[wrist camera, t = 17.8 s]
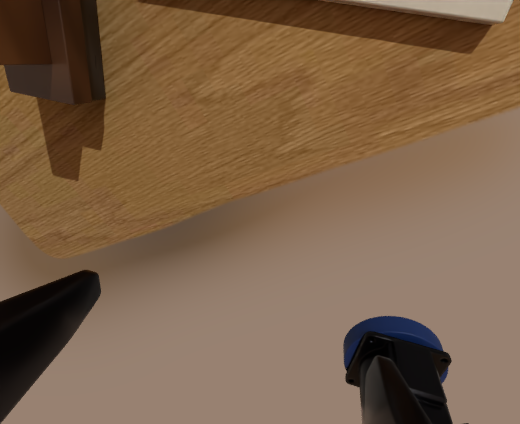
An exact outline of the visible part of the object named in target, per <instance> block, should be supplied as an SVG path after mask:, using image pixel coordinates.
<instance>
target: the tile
mask: <svg viewBox="0 0 520 424" xmlns="http://www.w3.org/2000/svg"><path fill="white" fill-rule="evenodd" d="M320 1H327V2H334V3H341V4H348V5H355V6H362V7H369V8H376V9H383V10H390V11H397V12H404V13H411V14H418V15H425V16H432V17H439V18H446V19H452V20H459V21H466V22H473V23H480V24H487V25H495V24H499V23H503V21H504V20H505V17H506V15H507V13H508V11H509V9H510V7H511V4H512V2H513V0H320Z"/></svg>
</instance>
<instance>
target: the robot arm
mask: <svg viewBox="0 0 520 424" xmlns="http://www.w3.org/2000/svg"><path fill="white" fill-rule="evenodd" d="M100 294H101V288H100V282H99V275H98V274H97V273H96V272H93V271H90V270H83V271H80V272H77V273H74V274H72V275H70V276H67V277H64V278H61V279H59V280H56V281H54V282H51V283H48V284H46V285H43V286H40V287H38V288H35V289H33V290H30V291H27V292H25V293H22V294H19V295H17V296H14V297H11V298H9V299H6V300H4V301H1V302H0V423H1V422H2V421H3V420H4V419H5V418H6V416H7V415H8V414H9V413H10V412H11V410H12V409H13V408H14V407H15V405H16V404H17V403H18V402H19V401H20V400H21V398H22V397H23V396H24V395H25V394H26V392H27V391H28V390H29V389H30V387H31V386H32V385H33V384H34V383H35V381H36V380H37V379H38V378H39V376H40V375H41V374H42V373H43V372H44V371H45V369H46V368H47V367H48V366H49V364H50V363H51V362H52V361H53V360H54V358H55V357H56V356H57V355H58V354H59V353H60V351H61V350H62V349H63V348H64V347H65V345H66V344H67V343H68V341H69V340H70V339H71V338H72V336H73V335H74V333H75V332H76V331H77V329H78V328H79V326H80V325H81V323H82V322H83V320H84V319H85V317H86V316H87V314H88V313H89V312H90V310H91V309H92V307H93V306H94V304H95V303H96V301H97V300H98V298H99V296H100ZM450 363H451V358H450V355H449V354H448V353H446V352H443V351H440V350H436V349H433V348H429V347H426V346H422V345H419V344H415V343H412V342H408V341H405V340H401V339H397V338H394V337H390V336H387V335H383V334H380V333H376V332H372V331H369V332H367V333H366V334H365V335H364V337H363V340H362V342H361V344H360V346H359V348H358V350H357V352H356V354H355V356H354V359H353V361H352V363H351V365H350V367H349V369H348V371H347V373H346V382H347V383H348V384H351V385H354V386H357V387H360V398H361V412H362V424H453V423H452V420H451V416H450V413H449V410H448V407H447V404H446V403H447V399H446V396H445V393H444V390H443V387H442V384H441V381H440V377H441V376H442V374H443V373H444V372H445V370H446V369H447V367H448V366H449V365H450ZM466 424H468V423H466Z"/></svg>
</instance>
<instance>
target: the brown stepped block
mask: <svg viewBox="0 0 520 424" xmlns="http://www.w3.org/2000/svg"><path fill="white" fill-rule="evenodd" d="M0 65H4V67H5V71H6V75H7V80H8V84H9V88H10V91H11V92H15V93H20V94H25V95H29V96H34V97H39V98H43V99H48V100H53V101H57V102H62V103H67V104H72V105H77V104H83V103H89V102H92V101H95V100H101V99H105V89H104V79H103V69H102V59H101V49H100V39H99V29H98V19H97V9H96V0H0Z"/></svg>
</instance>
